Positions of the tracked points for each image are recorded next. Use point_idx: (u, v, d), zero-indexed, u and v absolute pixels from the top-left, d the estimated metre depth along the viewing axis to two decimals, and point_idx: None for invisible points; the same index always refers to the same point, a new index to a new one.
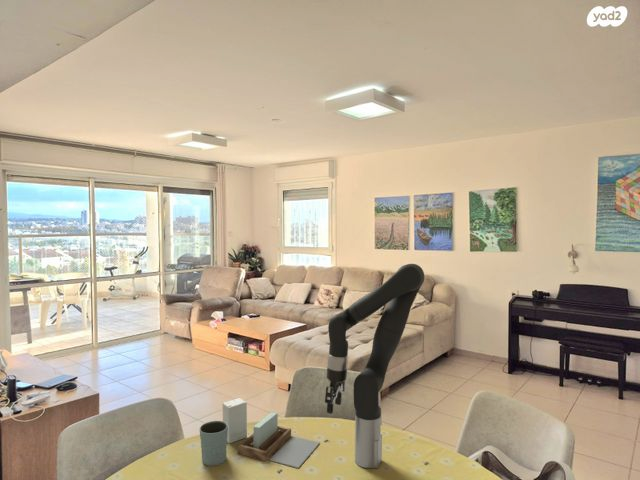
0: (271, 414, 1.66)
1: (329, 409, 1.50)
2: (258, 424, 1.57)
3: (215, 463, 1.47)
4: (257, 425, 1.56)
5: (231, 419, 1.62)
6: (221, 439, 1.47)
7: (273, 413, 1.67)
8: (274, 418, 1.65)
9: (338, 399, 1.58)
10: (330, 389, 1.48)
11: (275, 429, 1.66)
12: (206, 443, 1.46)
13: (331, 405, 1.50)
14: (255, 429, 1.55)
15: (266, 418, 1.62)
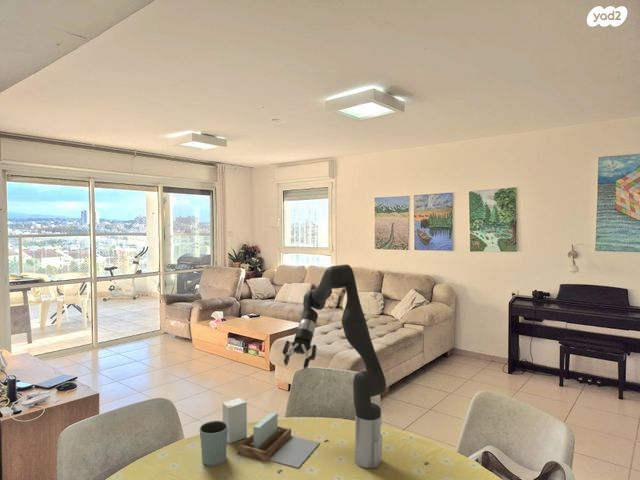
0: (271, 414, 1.66)
1: None
2: (258, 424, 1.57)
3: (215, 463, 1.47)
4: (257, 425, 1.56)
5: (231, 419, 1.62)
6: (221, 439, 1.47)
7: (273, 413, 1.67)
8: (274, 418, 1.65)
9: None
10: None
11: (275, 429, 1.66)
12: (206, 443, 1.46)
13: (286, 356, 1.76)
14: (255, 429, 1.55)
15: (266, 418, 1.62)
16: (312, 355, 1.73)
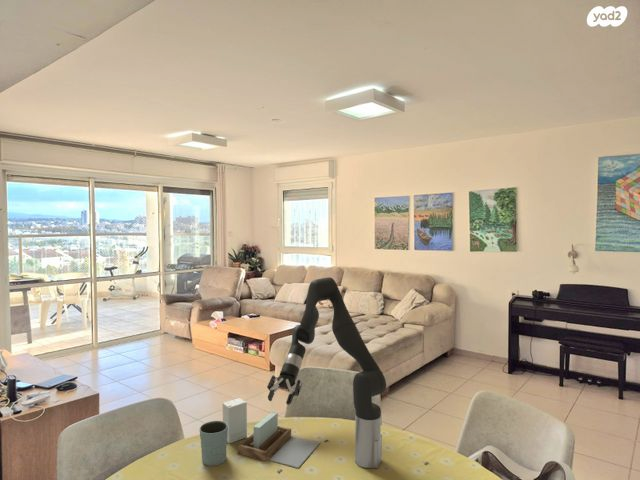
0: (271, 414, 1.66)
1: None
2: (258, 424, 1.57)
3: (215, 463, 1.47)
4: (257, 425, 1.56)
5: (231, 419, 1.62)
6: (221, 439, 1.47)
7: (273, 413, 1.67)
8: (274, 418, 1.65)
9: None
10: None
11: (275, 429, 1.66)
12: (206, 443, 1.46)
13: (270, 392, 1.74)
14: (255, 429, 1.55)
15: (266, 418, 1.62)
16: (295, 391, 1.70)
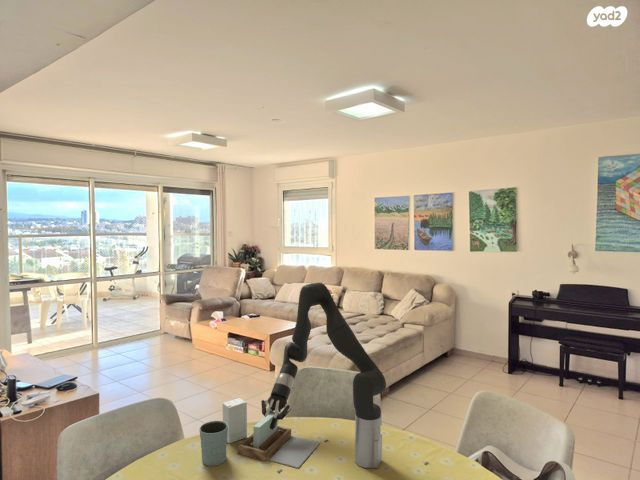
0: (271, 414, 1.66)
1: None
2: (258, 424, 1.57)
3: (215, 463, 1.47)
4: (257, 425, 1.56)
5: (231, 419, 1.62)
6: (221, 439, 1.47)
7: (273, 413, 1.67)
8: None
9: None
10: None
11: (275, 429, 1.66)
12: (206, 443, 1.46)
13: None
14: (255, 429, 1.55)
15: (266, 418, 1.62)
16: (280, 414, 1.64)
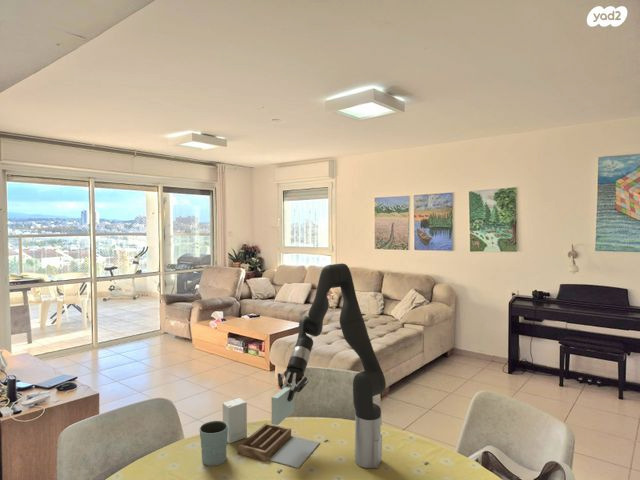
0: (288, 386, 1.62)
1: None
2: (276, 395, 1.54)
3: (215, 463, 1.47)
4: (275, 396, 1.53)
5: (231, 419, 1.62)
6: (221, 439, 1.47)
7: (290, 385, 1.63)
8: None
9: None
10: None
11: (292, 402, 1.62)
12: (206, 443, 1.46)
13: None
14: (273, 400, 1.52)
15: (284, 390, 1.59)
16: (297, 387, 1.60)
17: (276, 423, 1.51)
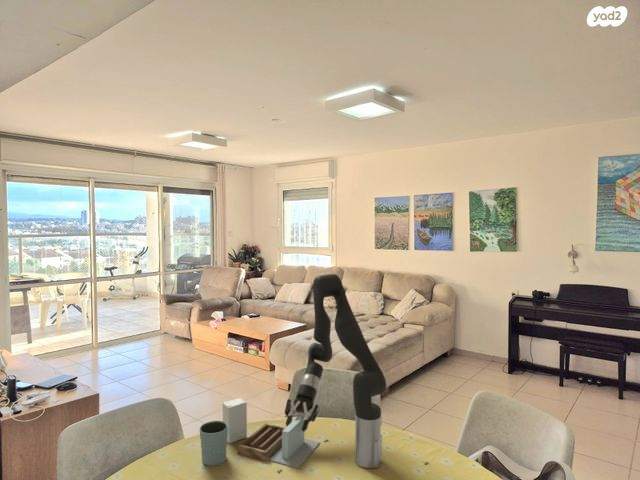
0: (298, 418, 1.61)
1: None
2: (286, 428, 1.53)
3: (215, 463, 1.47)
4: (285, 430, 1.52)
5: (231, 419, 1.62)
6: (221, 439, 1.47)
7: (300, 417, 1.62)
8: (301, 422, 1.61)
9: None
10: None
11: (302, 433, 1.61)
12: (206, 443, 1.46)
13: (288, 417, 1.61)
14: (284, 434, 1.51)
15: (294, 422, 1.58)
16: (311, 416, 1.59)
17: (286, 457, 1.50)
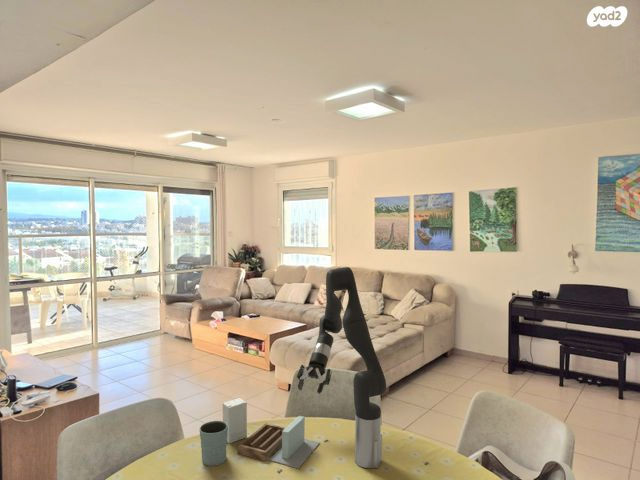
0: (298, 418, 1.61)
1: None
2: (286, 428, 1.53)
3: (215, 463, 1.47)
4: (285, 430, 1.52)
5: (231, 419, 1.62)
6: (221, 439, 1.47)
7: (300, 417, 1.62)
8: (301, 422, 1.61)
9: None
10: None
11: (302, 433, 1.61)
12: (206, 443, 1.46)
13: (300, 381, 1.73)
14: (284, 434, 1.51)
15: (294, 422, 1.58)
16: (326, 379, 1.69)
17: (286, 457, 1.50)
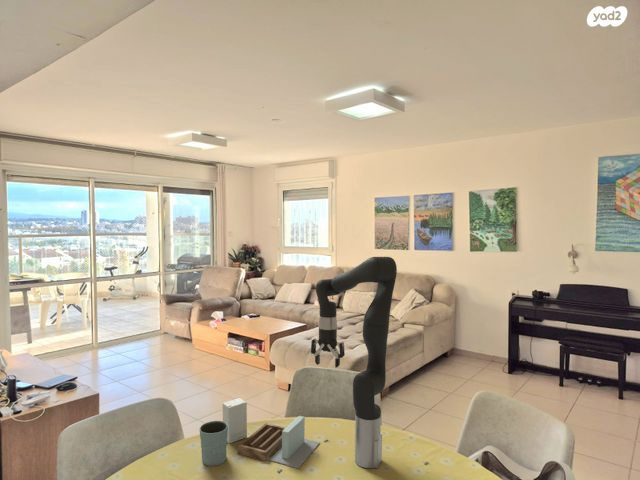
0: (298, 418, 1.61)
1: None
2: (286, 428, 1.53)
3: (215, 463, 1.47)
4: (285, 430, 1.52)
5: (231, 419, 1.62)
6: (221, 439, 1.47)
7: (300, 417, 1.62)
8: (301, 422, 1.61)
9: None
10: None
11: (302, 433, 1.61)
12: (206, 443, 1.46)
13: (315, 356, 1.73)
14: (284, 434, 1.51)
15: (294, 422, 1.58)
16: (341, 355, 1.67)
17: (286, 457, 1.50)
